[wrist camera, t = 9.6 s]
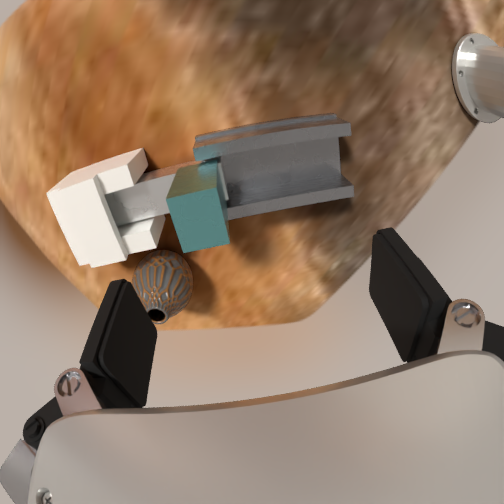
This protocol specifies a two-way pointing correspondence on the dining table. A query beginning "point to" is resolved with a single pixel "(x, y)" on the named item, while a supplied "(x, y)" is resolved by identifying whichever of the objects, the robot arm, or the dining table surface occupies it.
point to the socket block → (103, 211)
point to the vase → (163, 284)
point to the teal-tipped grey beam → (180, 202)
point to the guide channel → (279, 163)
